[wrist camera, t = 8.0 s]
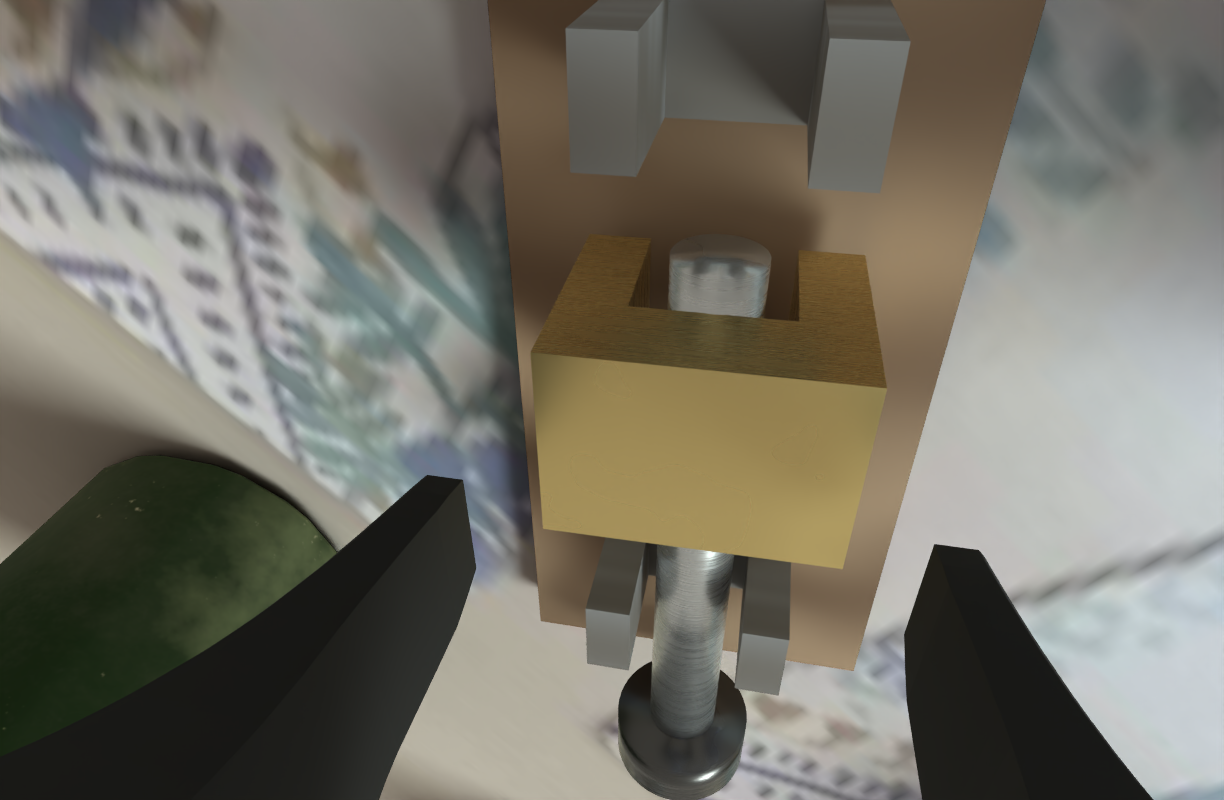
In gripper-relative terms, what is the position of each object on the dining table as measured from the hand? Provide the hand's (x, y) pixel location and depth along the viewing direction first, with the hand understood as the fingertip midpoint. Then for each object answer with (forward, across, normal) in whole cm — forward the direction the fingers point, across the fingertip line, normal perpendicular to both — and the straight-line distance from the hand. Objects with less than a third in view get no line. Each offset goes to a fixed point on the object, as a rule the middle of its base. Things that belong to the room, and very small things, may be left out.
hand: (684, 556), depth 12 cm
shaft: (+6, 0, +5) cm, 8 cm away
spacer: (+6, 0, 0) cm, 7 cm away
